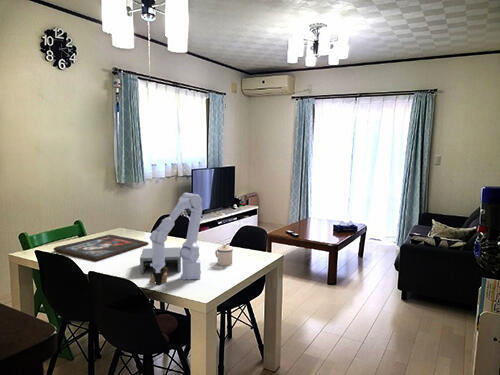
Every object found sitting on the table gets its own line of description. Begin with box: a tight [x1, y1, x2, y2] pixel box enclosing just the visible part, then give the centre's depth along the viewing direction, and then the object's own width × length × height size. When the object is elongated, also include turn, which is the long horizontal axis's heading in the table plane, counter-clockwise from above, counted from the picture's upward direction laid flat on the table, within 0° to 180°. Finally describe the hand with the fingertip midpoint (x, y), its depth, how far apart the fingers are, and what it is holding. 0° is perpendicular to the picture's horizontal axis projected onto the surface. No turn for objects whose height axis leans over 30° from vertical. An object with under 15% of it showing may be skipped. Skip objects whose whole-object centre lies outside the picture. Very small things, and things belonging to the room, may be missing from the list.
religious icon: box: [52, 234, 149, 262], centre depth 241 cm, size 40×45×3 cm
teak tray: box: [151, 266, 169, 283], centre depth 190 cm, size 7×16×6 cm, turn 11°
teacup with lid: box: [214, 243, 233, 267], centre depth 214 cm, size 12×9×12 cm
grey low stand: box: [139, 246, 182, 275], centre depth 204 cm, size 21×18×9 cm
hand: (158, 282), depth 178 cm, fingers open, 7 cm apart
